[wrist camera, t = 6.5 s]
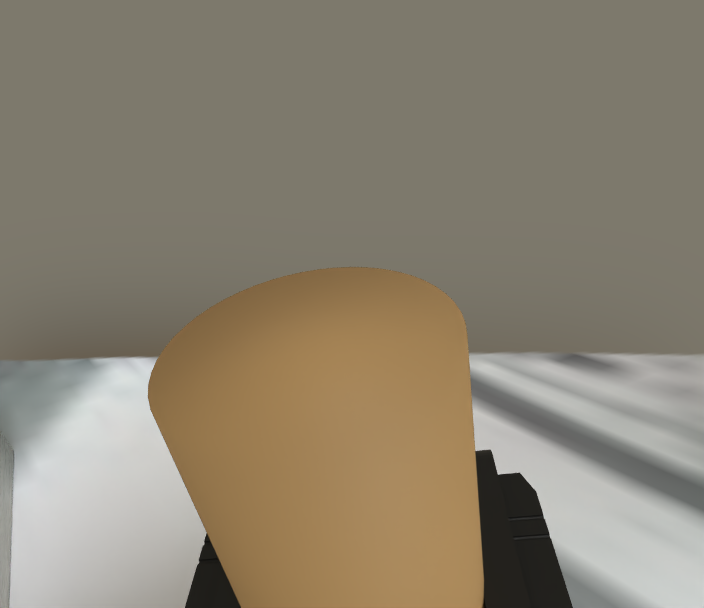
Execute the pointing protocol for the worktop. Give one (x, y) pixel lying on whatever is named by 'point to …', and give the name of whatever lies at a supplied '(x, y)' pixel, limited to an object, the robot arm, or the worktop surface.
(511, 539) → the robot arm
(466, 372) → the pin
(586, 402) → the worktop surface
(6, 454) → the grey flat block
